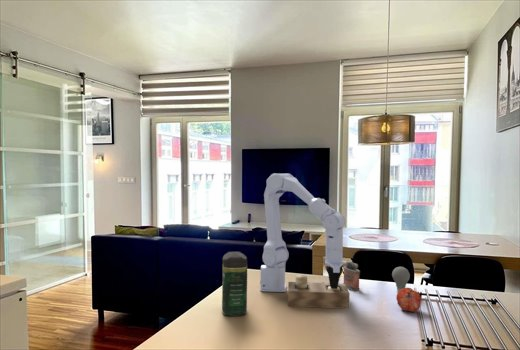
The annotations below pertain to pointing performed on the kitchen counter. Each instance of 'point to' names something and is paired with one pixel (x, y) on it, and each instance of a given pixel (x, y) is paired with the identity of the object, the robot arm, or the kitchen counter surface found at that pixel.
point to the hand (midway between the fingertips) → (333, 288)
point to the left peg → (301, 282)
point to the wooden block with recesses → (318, 296)
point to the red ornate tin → (351, 276)
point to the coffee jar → (234, 284)
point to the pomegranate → (408, 299)
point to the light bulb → (400, 277)
